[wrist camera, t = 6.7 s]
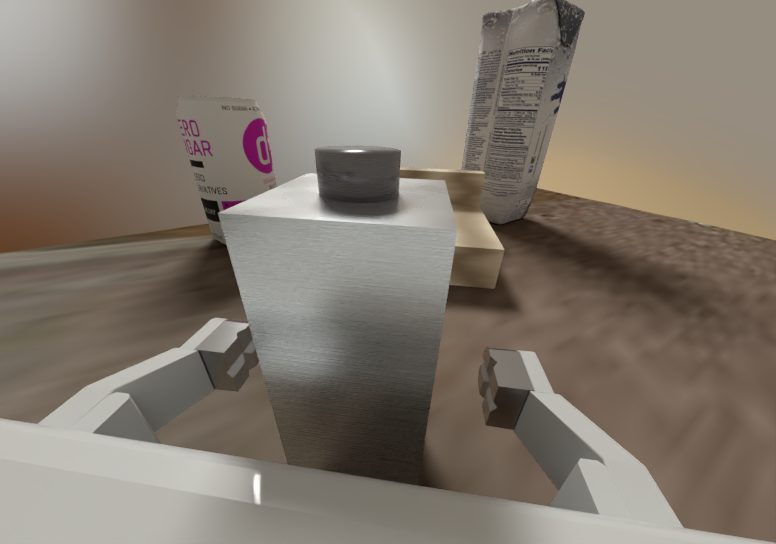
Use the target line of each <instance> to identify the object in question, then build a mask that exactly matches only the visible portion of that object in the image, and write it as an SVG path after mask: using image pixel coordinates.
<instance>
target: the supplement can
mask: <svg viewBox="0 0 776 544" xmlns="http://www.w3.org/2000/svg"><path fill="white" fill-rule="evenodd" d="M178 98H179V104H178V108H177V112H176V116H177V120H178V123H179V126H180V130H181V133H182V136H183V140H184V143H185V146H186V150H187V153H188V156H189V159H190V163H191V166H192V170H193V173H194V176H195V179H196V183H197V186H198V190H199V193H200V196H201V200H202V203H203V206H204V210H205V213H206V216H207V220H208V223H209V226H210V230H211V233H212V236H213V238H214V239H216V240H218V241H220V242H221V243H223V244H225V245H227V244H226V241H225V237H224V233H223V230H222V226H221V223H220V219H219V216H218V213H219V212H221V211H224V210H226V209H228V208H230V207H233V206H235V205H237V204H239V203H242V202H244V201H246V200H249V199H251V198H253V197H255V196H258V195H260V194H262V193H264V192H267V191H269V190H271V189H273V188H276V181H275V175H274V169H273V163H272V157H271V151H270V145H269V139H268V132H267V126H266V120H265V116H264V115H263V113H262V112H261V110H260V109H259V107H258V105H257V104H256V100H251V99H241V98H227V97H207V96H178Z"/></svg>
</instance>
